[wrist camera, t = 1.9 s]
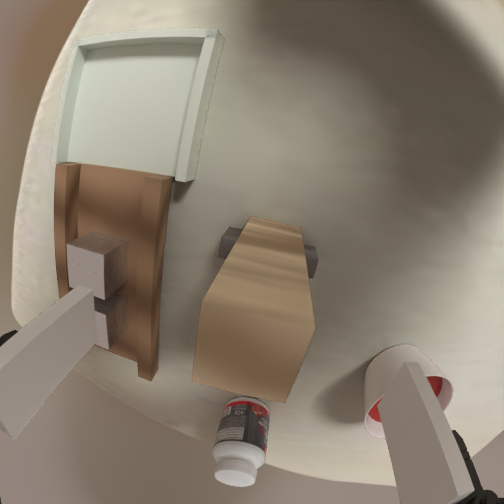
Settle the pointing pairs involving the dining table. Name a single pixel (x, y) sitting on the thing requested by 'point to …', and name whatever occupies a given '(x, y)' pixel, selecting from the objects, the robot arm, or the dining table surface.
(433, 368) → the white round cup
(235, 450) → the pill bottle
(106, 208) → the slot board
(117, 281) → the grey cube
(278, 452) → the dining table surface
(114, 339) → the pinkish grey cube
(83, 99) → the tray
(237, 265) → the tapered wooden board
